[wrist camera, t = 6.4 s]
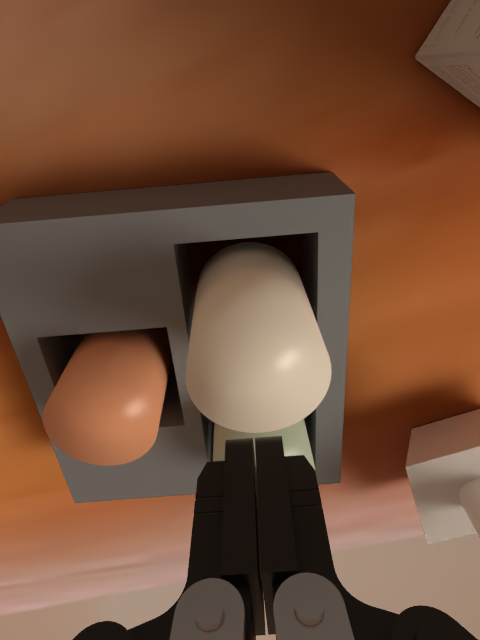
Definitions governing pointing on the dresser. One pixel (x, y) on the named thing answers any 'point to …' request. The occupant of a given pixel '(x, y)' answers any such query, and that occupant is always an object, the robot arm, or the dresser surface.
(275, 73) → the dresser surface
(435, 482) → the figurine
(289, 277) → the white egg
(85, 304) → the grey square tray
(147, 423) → the brown egg
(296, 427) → the green egg
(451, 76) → the supplement box
